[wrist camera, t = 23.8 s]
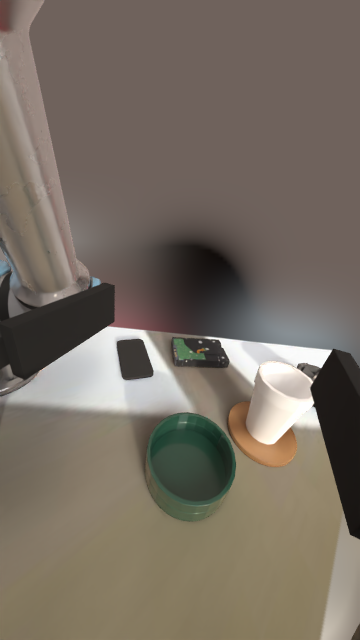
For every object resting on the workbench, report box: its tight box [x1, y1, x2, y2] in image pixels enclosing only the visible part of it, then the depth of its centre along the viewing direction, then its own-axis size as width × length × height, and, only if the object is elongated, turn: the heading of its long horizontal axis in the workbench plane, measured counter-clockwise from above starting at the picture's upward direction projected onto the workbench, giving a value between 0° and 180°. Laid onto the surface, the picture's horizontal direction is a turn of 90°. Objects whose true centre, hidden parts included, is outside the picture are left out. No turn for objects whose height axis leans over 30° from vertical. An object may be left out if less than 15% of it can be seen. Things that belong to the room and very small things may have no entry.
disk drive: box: [171, 337, 229, 368], centre depth 60 cm, size 10×3×15 cm
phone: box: [117, 339, 153, 380], centre depth 55 cm, size 7×1×15 cm
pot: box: [145, 412, 236, 521], centre depth 33 cm, size 13×13×4 cm
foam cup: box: [246, 361, 314, 445], centre depth 38 cm, size 10×9×13 cm
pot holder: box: [228, 401, 297, 467], centre depth 41 cm, size 13×13×1 cm
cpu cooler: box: [297, 363, 321, 407], centre depth 52 cm, size 10×6×10 cm
